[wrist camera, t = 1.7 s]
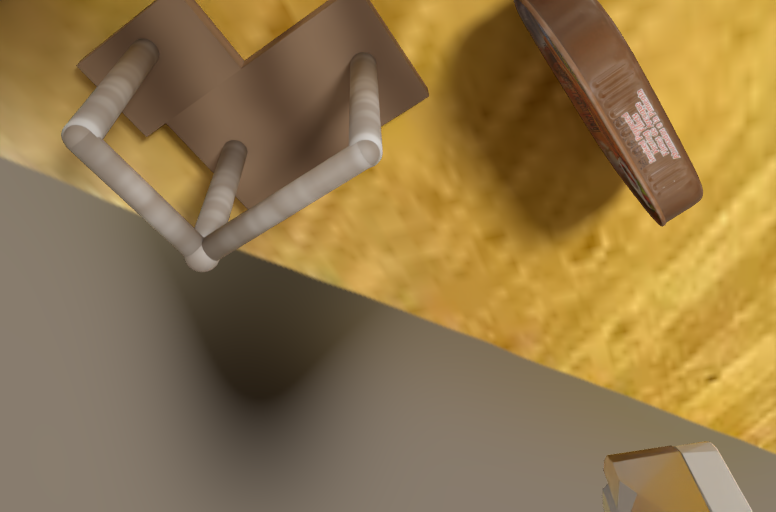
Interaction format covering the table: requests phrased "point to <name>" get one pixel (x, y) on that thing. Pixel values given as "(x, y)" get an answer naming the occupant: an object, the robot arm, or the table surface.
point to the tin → (614, 102)
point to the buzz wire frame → (244, 114)
